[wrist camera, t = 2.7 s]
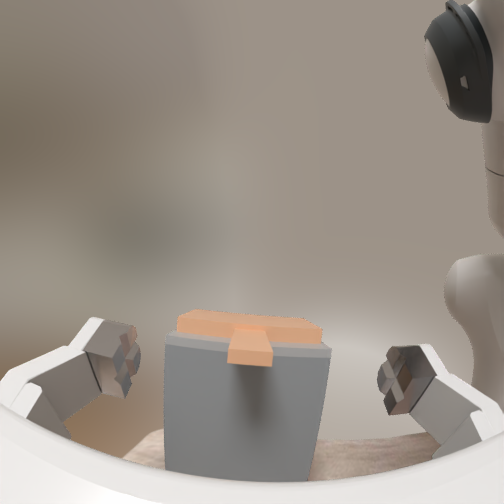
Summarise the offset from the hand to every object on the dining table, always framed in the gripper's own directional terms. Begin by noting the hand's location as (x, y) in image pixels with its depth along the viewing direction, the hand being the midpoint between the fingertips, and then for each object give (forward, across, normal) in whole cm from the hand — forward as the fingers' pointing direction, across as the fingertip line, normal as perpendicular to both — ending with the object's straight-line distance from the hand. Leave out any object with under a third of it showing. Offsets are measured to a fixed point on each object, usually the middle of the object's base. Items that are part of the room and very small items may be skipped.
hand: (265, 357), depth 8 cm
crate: (+11, 0, +41) cm, 42 cm away
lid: (+20, 0, +16) cm, 25 cm away
